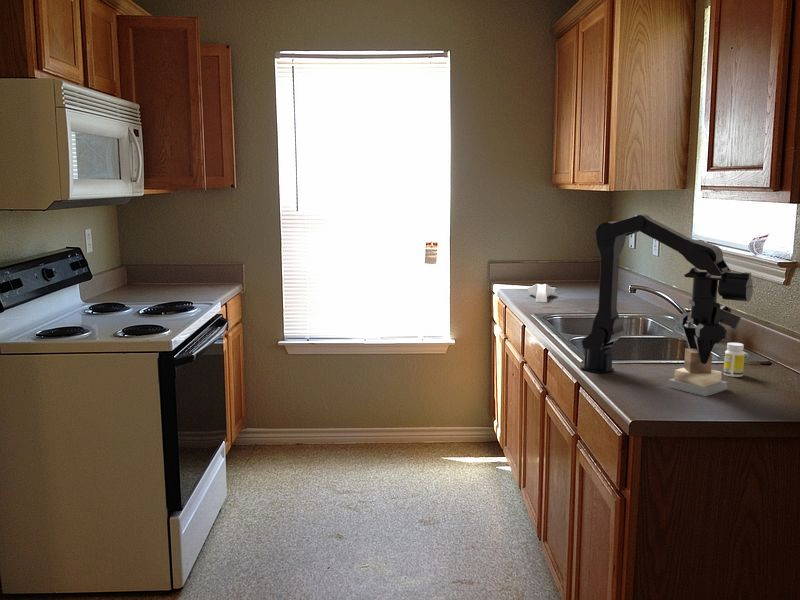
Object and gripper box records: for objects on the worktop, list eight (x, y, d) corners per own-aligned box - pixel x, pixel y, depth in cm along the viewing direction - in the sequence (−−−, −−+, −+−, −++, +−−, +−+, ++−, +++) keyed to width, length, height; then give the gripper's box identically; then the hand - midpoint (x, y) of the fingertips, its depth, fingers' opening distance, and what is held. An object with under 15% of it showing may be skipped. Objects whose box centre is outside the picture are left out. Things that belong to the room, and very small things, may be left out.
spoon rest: (527, 294, 339) (527, 278, 338) (553, 295, 337) (554, 279, 336) (527, 302, 316) (528, 285, 315) (556, 303, 314) (557, 286, 313)
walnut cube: (689, 372, 186) (691, 352, 185) (684, 367, 191) (685, 348, 190) (710, 373, 186) (712, 353, 185) (704, 368, 191) (705, 348, 190)
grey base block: (667, 389, 190) (668, 379, 189) (688, 382, 196) (689, 373, 196) (705, 398, 182) (706, 388, 182) (726, 391, 188) (727, 381, 188)
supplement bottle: (744, 374, 203) (747, 343, 202) (741, 378, 199) (743, 346, 198) (725, 371, 206) (727, 341, 204) (721, 375, 202) (724, 344, 200)
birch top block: (674, 379, 189) (674, 369, 189) (690, 374, 194) (691, 365, 194) (704, 386, 183) (705, 376, 183) (720, 381, 188) (721, 371, 188)
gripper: (752, 304, 175) (746, 370, 178) (725, 292, 194) (720, 352, 196) (702, 303, 176) (697, 368, 179) (680, 291, 195) (676, 350, 197)
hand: (699, 359), depth 188 cm, fingers open, 7 cm apart
